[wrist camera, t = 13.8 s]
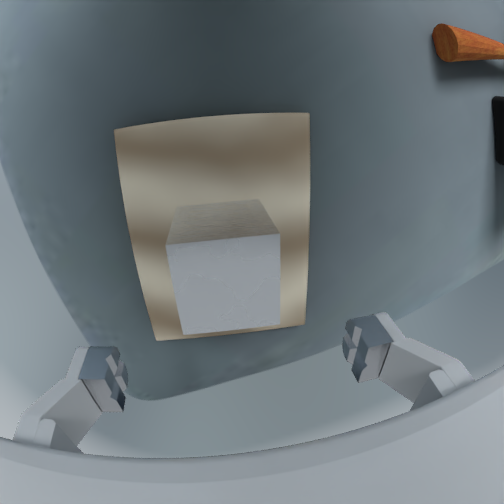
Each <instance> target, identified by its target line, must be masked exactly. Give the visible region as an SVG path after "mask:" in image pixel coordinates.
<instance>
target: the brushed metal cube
mask: <svg viewBox="0 0 504 504" xmlns="http://www.w3.org/2000/svg"><path fill="white" fill-rule="evenodd" d="M165 246H166V252H167V258H168V263H169V269H170V274H171V279H172V284H173V289H174V294H175V299H176V304H177V309H178V313H179V318H180V322H181V327H182V331H183V335H188V334H199V333H210V332H220V331H229V330H238V329H247V328H255V327H263V326H270V325H278V324H280V233H279V231H278V230H277V228H276V226H275V225H274V223H273V221H272V220H271V218H270V216H269V215H268V213H267V211H266V210H265V208H264V207H263V205H262V203H261V202H260V200H259V199H253V200H241V201H230V202H219V203H209V204H199V205H189V206H180V207H177V208H176V211H175V214H174V217H173V221H172V224H171V227H170V231H169V234H168V238H167V241H166V245H165Z"/></svg>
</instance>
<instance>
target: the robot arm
mask: <svg viewBox="0 0 504 504" xmlns="http://www.w3.org/2000/svg"><path fill="white" fill-rule="evenodd" d="M345 329H346V331H347V332H348V333H347V334H346V335H345V336H344V337H343V343H342V346H343V353H344V356H345V358H346V360H347V362H349V363H351V364H353V366H352V372H353V374H354V376H355V378H356V380H357V381H358V383H360V382H364V381H368V380H372V379H376V378H379V380H381V381H382V382H384V383H385V384H387V385H388V386H390V387H391V388H393V389H394V390H395V391H397V392H398V393H400V394H401V395H403V396H404V397H406V398H407V399H409V400H410V401H412V402H413V403H414V404H413V406H412V408H411V409H410V411H409V412H406V413H404V414H401V415H398V416H395V417H392V418H390V419H387V420H384V421H381V422H378V423H375V424H372V425H369V426H366V427H363V428H360V429H356V430H353V431H349V432H346V433H342V434H338V435H335V436H331V437H327V438H323V439H318V440H314V441H310V442H305V443H301V444H296V445H291V446H285V447H280V448H274V449H268V450H262V451H255V452H247V453H240V454H231V455H220V456H208V457H193V458H192V457H191V458H129V457H113V456H101V455H91V454H84V453H83V452H81V450H80V449H79V448H78V447H77V445H78V444H79V442H80V441H81V440H82V439H83V437H84V436H85V435H86V433H87V432H88V431H89V430H90V428H91V427H92V426H93V424H94V423H95V422H96V421H97V419H98V418H99V417H100V415H101V414H102V412H123V411H124V404H125V396H124V394H123V392H124V391H125V390H126V388H127V385H128V373H127V369H126V366H125V364H124V363H123V362H122V361H121V360H119V358H120V353H119V350H118V348H117V347H115V346H110V347H94V346H90V347H78V348H77V349H76V350H75V353H74V355H73V358H72V361H71V363H70V366H69V369H68V372H67V374H66V377H65V379H61V380H60V381H59V382H57V383H56V384H55V385H54V386H53V387H52V388H50V389H49V390H48V391H47V392H46V393H45V394H43V395H42V396H41V397H40V398H39V399H38V400H37V401H35V402H34V403H33V404H32V405H31V406H30V407H29V408H27V409H26V410H25V411H24V412H23V413H22V414H21V416H20V419H19V422H18V426H17V428H16V431H15V434H14V437H13V440H10V439H6V438H3V437H0V504H504V365H503V366H501V367H499V368H498V369H496V370H494V371H493V372H491V373H489V374H487V375H485V376H484V377H482V378H480V379H478V380H476V381H475V380H474V379H473V377H472V376H471V375H470V373H469V372H468V371H467V369H466V368H465V367H464V366H463V364H462V363H461V362H460V361H459V360H458V359H456V358H454V357H451V356H449V355H447V354H445V353H442V352H440V351H438V350H436V349H434V348H431V347H429V346H427V345H425V344H423V343H420V342H418V341H416V340H414V339H412V338H406V337H405V336H404V335H403V333H402V332H401V331H400V329H399V328H398V327H397V325H396V324H395V323H394V322H393V320H392V319H391V318H390V316H389V315H388V314H387V313H386V312H381V313H377V314H373V315H369V316H364V317H359V318H354V319H349V320H348V321H347V323H346V327H345Z"/></svg>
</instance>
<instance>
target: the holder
mask: <svg viewBox="0 0 504 504" xmlns="http://www.w3.org/2000/svg"><path fill="white" fill-rule="evenodd" d="M114 136H115V145H116V154H117V162H118V169H119V176H120V183H121V189H122V195H123V201H124V207H125V213H126V218H127V224H128V229H129V234H130V239H131V244H132V248H133V253H134V258H135V262H136V266H137V271H138V275H139V279H140V283H141V287H142V291H143V295H144V299H145V303H146V306H147V310H148V314H149V317H150V321H151V324H152V328H153V331H154V335H155V338H156V341H161V340H175V339H187V338H199V337H210V336H220V335H229V334H238V333H246V332H255V331H262V330H270V329H277V328H284V327H291V326H298V325H304V324H305V314H306V297H307V278H308V255H309V223H310V116H309V113H254V114H234V115H220V116H208V117H197V118H188V119H179V120H171V121H163V122H156V123H149V124H143V125H137V126H131V127H125V128H120V129H115V130H114ZM253 199H259V200H260V202H261V203H262V205H263V207H264V208H265V210H266V211H267V213H268V215H269V216H270V218H271V220H272V221H273V223H274V225H275V226H276V228H277V230H278V231H279V233H280V324H278V325H270V326H263V327H255V328H247V329H238V330H229V331H220V332H210V333H199V334H188V335H183V331H182V327H181V322H180V318H179V313H178V309H177V304H176V299H175V294H174V289H173V284H172V279H171V274H170V269H169V263H168V258H167V252H166V246H165V245H166V241H167V238H168V234H169V231H170V227H171V224H172V221H173V217H174V214H175V211H176V208H177V207H180V206H189V205H199V204H209V203H219V202H230V201H241V200H253Z"/></svg>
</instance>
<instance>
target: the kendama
mask: <svg viewBox="0 0 504 504" xmlns="http://www.w3.org/2000/svg"><path fill="white" fill-rule="evenodd" d="M432 37H433V40H434V44H435V48H436V53H437V55H438V56H439V57H440V58H441V59H442V60H443V61H445V62H455V61H468V60H489V59H504V44H502V43H500V42H497V41H495V40H492V39H490V38H487V37H484V36H481V35H478V34H475V33H473V32H469V31H466V30H463V29H460V28H457V27H453V26H450V25H446V24H438V25H437V26H436V27H435V28H434V30H433V33H432Z"/></svg>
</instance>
